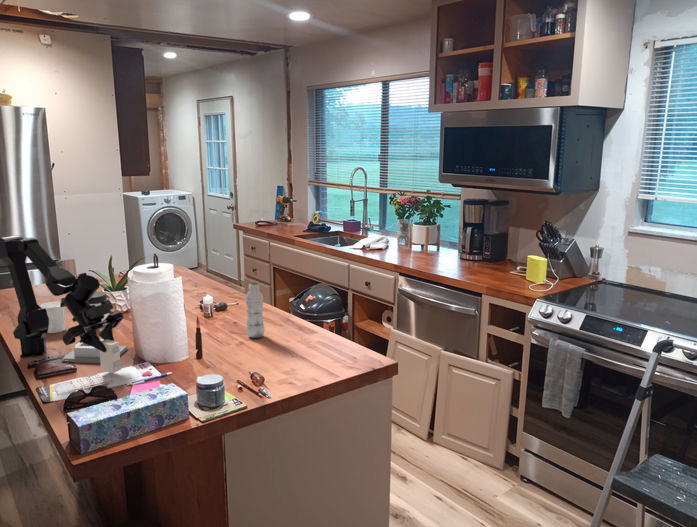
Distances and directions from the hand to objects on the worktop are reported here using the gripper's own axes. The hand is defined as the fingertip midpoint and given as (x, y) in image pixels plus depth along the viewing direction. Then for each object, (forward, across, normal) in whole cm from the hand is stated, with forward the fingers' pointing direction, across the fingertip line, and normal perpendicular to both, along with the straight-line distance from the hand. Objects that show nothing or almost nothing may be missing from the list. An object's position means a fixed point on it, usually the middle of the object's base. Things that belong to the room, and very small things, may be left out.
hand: (110, 349), depth 167 cm
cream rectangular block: (+4, 0, +5) cm, 7 cm away
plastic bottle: (+20, +47, -9) cm, 52 cm away
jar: (-23, +30, +35) cm, 52 cm away
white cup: (-29, +19, +41) cm, 54 cm away
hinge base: (-6, +8, +17) cm, 20 cm away
